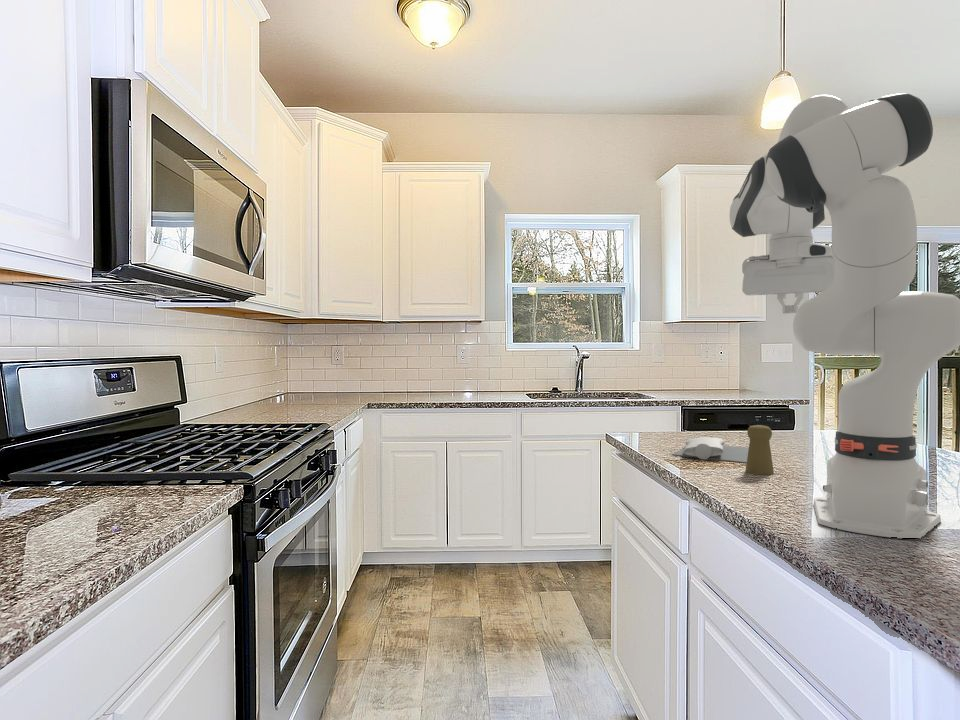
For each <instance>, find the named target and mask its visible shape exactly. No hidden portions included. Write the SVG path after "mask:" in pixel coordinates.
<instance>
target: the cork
mask: <svg viewBox="0 0 960 720" xmlns="http://www.w3.org/2000/svg"><path fill="white" fill-rule="evenodd" d="M746 432H747V433H746V434H747V436H748V438H749V442H748V443H749V444H748V448H749V450H748V457H747V463H745V464H746V465H745V472H746V473H748V474H751V475H755V476H756V475H758V476H770V475H774V474H775V472H774V465H773V458H772V450H771V444H770V443H771V442H770V440H771V438H772V435H773V431H772V429H771V428H770V427H769V426H768V425H763V424H756V425H754V424H753V425H750V426H749V427H748V428H747V431H746Z"/></svg>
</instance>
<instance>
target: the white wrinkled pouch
mask: <svg viewBox="0 0 960 720" xmlns="http://www.w3.org/2000/svg"><path fill="white" fill-rule="evenodd" d="M684 443H685V447H684V448H685V449H684V448H683V449H684V451H683V452H684V454H686V455H690V456H697V457H698V458H697V459H700V460H708V459H707V458H709V457H710V456H716V455H721V454H722V453H723V446H722V445H725V444H726V441H725V439H722V438H720V437H713V436H712V437H710V436H702V437H701V436H698V437H694V438H689V439H687V440H686V441H685V442H684Z"/></svg>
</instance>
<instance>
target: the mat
mask: <svg viewBox="0 0 960 720" xmlns="http://www.w3.org/2000/svg"><path fill="white" fill-rule="evenodd" d="M722 446H723V453H722V454H721V455H716V456H710V457H709V458H707V459H706V460H713V461H720V462H721V461H722V462H731V463H739V464H740V463H741V464H747V457H748V450H749V447H745V446H735V445H725V444H724V445H722ZM684 449H685V447H684V448H682V449H680V450H677V451H675V452H673V453H671V456H675V457H683V458H693V459H699V458H698V457H697V456H690V455H686V454H684V452H683V451H684Z"/></svg>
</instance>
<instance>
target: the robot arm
mask: <svg viewBox="0 0 960 720" xmlns="http://www.w3.org/2000/svg"><path fill="white" fill-rule="evenodd" d="M933 134H934V127H933V121H932V117H931V114H930V112H929V110H928V107H927V106H926V104H925V103H924V102H923V100H921V98H920V97H917V96H915V95H913V94H910V93H906V92H901V93H895V94H890V95H885V96H881V97H878V98H873V99H869V100H868V102H867V103H864V104H861V105H859V106H854V107H853V108H851V109H849V107H848V106H847V104H846V103H845V102H844V101H843V100H842V99H840V98H838V97H836V96H833V95H830V94H829V95H828V94H819V95H813V96H811V97H808V98H806V99H805V100H803V101H801V102H800V103H798V104H797V105H796V106H795V107H794V108H793V109H792V110H791V112H790V114H789V115H788V117H787V119H786V121H785V122H784V125H783V126H782V129H781V132H780V134H779V137H778V141H777V142H776V143H775V144H773V146H772V147H770V149H769V150H768V152H767V153H766V154H765V155H764V156H761V157H759V159H757V160H755V161H754V163H753V164H752V166H751V167H750V170H749V171H748V173H747V175H746V177H745V179H744V181H743V184H742V185H741V187H740V190H739V192H738V193H736V195H735V196H734V197H733V200H732V203H731V205H730V208H729V223H730V226H731V229H732V230H733V231H734V232H735V234H737V235H739V236H740V237H742V238H745V237H746V238H748V237H754V236H757V235H758V236H759V235H770V237H769V240H768V243H769V245H768V248H769V249H768V250H769V251H768V252H769V253H768V254H761V255H751V256H748V258H746V259H744V261H743V262H742V265H741V266H742V267H741V268H742V269H741V271H742V274H743V277H742V278H743V279H742V288H741V289H742V291H741V292H742V293H743V294H744V295H745V296H765V295H777V296H776V299H777V300H778V302H779V303H780V304H781V306H782V314H784V315H785V314H795V315H794V318H793V323H792V331H793V335H794V337H795V339H796V341H797V343H798V345H799V346H801V348H802V349H804V350H805V351H807V352H813V353H817V354H818V353H819V354H824V355H830V356H876V357H877V356H878V357H879V358H880V360H881V361H880V364H879V365H878V366H877V368H875V369H874V370H872V371H869V372H866V373H864V374H861V375H859V376H856V377H855V378H852V379H850V380H848V381H847V382H846V383H844V384H843V385H842V386H841V388H840V390H839V392H838V404H837V405H838V406H837V407H838V415H837V416H838V417H837V418H838V422H837V425H838V427H837V429H838V430H836V431H835V437H834V451H835V452H836V453H835V454H834V455H833V456H832V457H831V458H829V459H827V461H826V484H825V483H824V484H823V485H822V491H823V492H825V493H826V497H825V496H823V497H815V498H813V507H814V510H815V516H816V519H817V523H818V524H820V525H822V526H825V527H829V528H833V529H836V528H837V530H840V531H841V530H842V531H847V532H852V533H856V534H863V535H870V536H877V537H885V538H891V537H897V538H896V539H902V538H920V539H922V538H923V537H924V536H926V535H927V534H928V533H929V532H930V531H931V530H933V528H935V527H936V526H937V525H938V524H939V523H941V521H942V520H941V515H940V513H937V512H934V511H930V510H928V508H927V507H928V505H929V494H928V492H927V489H928V488H929V483H928V480H927V470H926V469H925V468H923V466H921V465H920V464H919V463H918V462H917V460H916V459H915V458H916V456H917V444H918V443H917V439H916V436H915V435H914V412H915V401H916V396H917V392H918V389H919V386H920V383H921V381H922V379H923V378H924V377H925V374H926V373H927V372H928V371H929V370H930V369H931V367H933V365H935V363H936V362H938V361H939V360H940V359H942V358H943V357H944V356H946V355H947V354H949V353H951V352H953V351H954V350H955V349H957V348H958V347H959V346H960V298H959V297H957V296H956V295H955V294H950V293H942V292H933V291H925V290H916V291H915V290H913V291H905V290H906V289H907V288H908V287H909V286H910V285H911V283H913V280H914V278H915V276H916V273H917V248H918V247H917V245H918V242H917V241H918V235H917V234H918V227H917V218H916V217H917V216H916V211H915V210H916V209H915V206H914V201H913V198H912V195H911V192H910V190H909V187H908V186H907V185H906V183H905V182H904V181H902V180H900V179H899V178H896V177H895V176H890V175H888V174H887V175H886V173H888V172H890V171H892V170H894V169H895V168H897V167H900V168H901V167H904V166H907V164H909V163H911V162H913V161H914V160H917V159H918V158H919V157H920V156H922V155H924V153H926V152H927V151H928V149H929V147H930V145H931V142H932V138H933V136H934V135H933ZM825 208H826V209H827V211H828V213H829V216H830V220H831V246H830V245H826V244H821V243H814V242H813V240H814V239H813V238H814V237H813V233H812V230H815V228H816V227H818V226H819V225H821V223H823V222H824V221H825V219H826V218H825ZM804 293H805V294H807V293H819V294H817V295H815V296H813V297H812V298H809V299H807V300H805V301H804V302H803V303H802V304H801V302H802V301H803V299H804ZM786 294H788V295H789V294H794V296H795V298H796V300H795V301H794V303H793V305H790V304H789V305H788V304H787V303H786V302H785V300H784V299H786V298H787V295H786ZM800 304H801V305H800ZM799 305H800V306H799ZM934 526H935V527H934ZM928 531H929V532H928ZM927 532H928V533H927ZM926 533H927V534H926ZM922 536H923V537H922ZM921 537H922V538H921Z"/></svg>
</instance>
